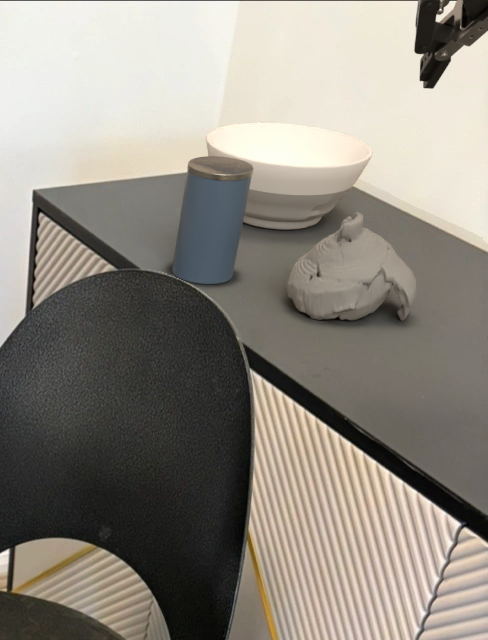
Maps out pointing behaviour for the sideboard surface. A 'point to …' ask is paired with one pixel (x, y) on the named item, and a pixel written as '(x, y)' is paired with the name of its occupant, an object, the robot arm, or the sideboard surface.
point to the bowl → (291, 169)
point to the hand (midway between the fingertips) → (460, 78)
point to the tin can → (211, 219)
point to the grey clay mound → (350, 275)
